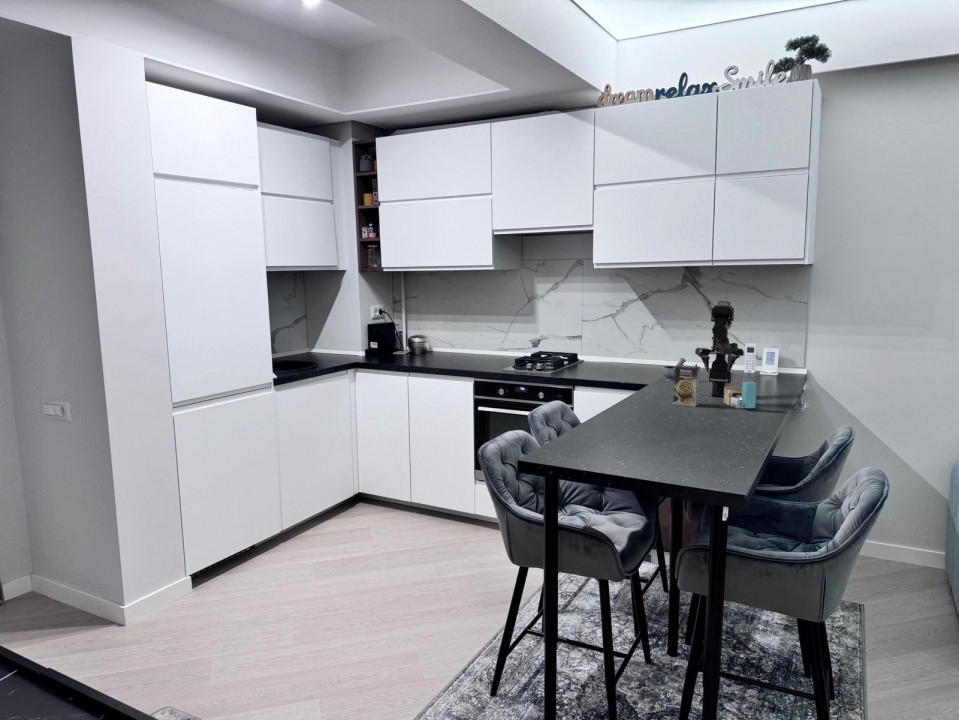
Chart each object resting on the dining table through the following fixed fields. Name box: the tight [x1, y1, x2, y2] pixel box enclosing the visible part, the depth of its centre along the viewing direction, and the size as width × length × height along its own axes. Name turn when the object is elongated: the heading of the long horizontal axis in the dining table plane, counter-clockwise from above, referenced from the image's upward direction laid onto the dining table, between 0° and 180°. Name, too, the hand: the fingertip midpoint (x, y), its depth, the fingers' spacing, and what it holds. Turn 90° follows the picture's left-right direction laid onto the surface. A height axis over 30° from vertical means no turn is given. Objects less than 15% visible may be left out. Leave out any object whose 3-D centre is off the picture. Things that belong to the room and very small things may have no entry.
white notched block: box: [730, 397, 745, 409], centre depth 273 cm, size 6×6×3 cm
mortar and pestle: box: [661, 357, 687, 383], centre depth 334 cm, size 11×9×12 cm
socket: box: [723, 386, 742, 406], centre depth 279 cm, size 5×7×7 cm
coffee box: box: [672, 364, 701, 407], centre depth 275 cm, size 9×6×16 cm
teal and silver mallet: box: [732, 381, 758, 409], centre depth 271 cm, size 14×4×10 cm, turn 3°
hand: (718, 372), depth 280 cm, fingers open, 9 cm apart
